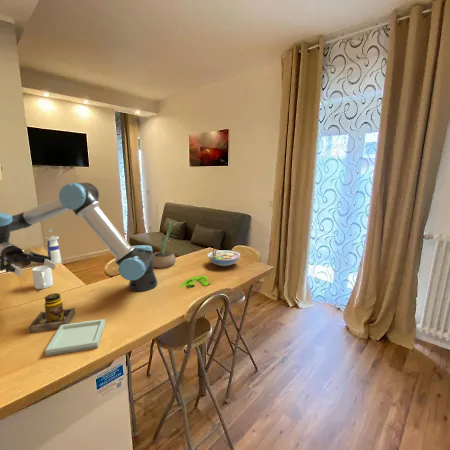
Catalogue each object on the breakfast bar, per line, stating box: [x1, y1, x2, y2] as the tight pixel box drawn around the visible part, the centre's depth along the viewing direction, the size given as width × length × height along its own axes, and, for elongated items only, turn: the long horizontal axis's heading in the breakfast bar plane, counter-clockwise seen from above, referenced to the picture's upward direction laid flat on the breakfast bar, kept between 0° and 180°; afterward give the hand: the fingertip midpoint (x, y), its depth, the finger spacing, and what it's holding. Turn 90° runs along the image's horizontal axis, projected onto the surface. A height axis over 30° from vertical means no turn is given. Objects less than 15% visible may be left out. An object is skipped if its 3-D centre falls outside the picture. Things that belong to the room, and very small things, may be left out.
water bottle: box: [44, 227, 62, 264], centre depth 181 cm, size 8×9×25 cm
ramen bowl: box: [207, 248, 241, 267], centre depth 179 cm, size 25×23×8 cm
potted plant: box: [153, 220, 181, 269], centre depth 179 cm, size 22×18×30 cm
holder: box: [27, 307, 76, 334], centre depth 107 cm, size 13×12×2 cm
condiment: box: [41, 292, 67, 324], centre depth 107 cm, size 7×8×12 cm
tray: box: [44, 318, 106, 357], centre depth 97 cm, size 16×16×2 cm
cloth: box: [179, 275, 211, 289], centre depth 147 cm, size 20×22×2 cm
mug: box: [31, 265, 54, 290], centre depth 142 cm, size 9×12×11 cm
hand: (38, 269), depth 111 cm, fingers open, 13 cm apart
